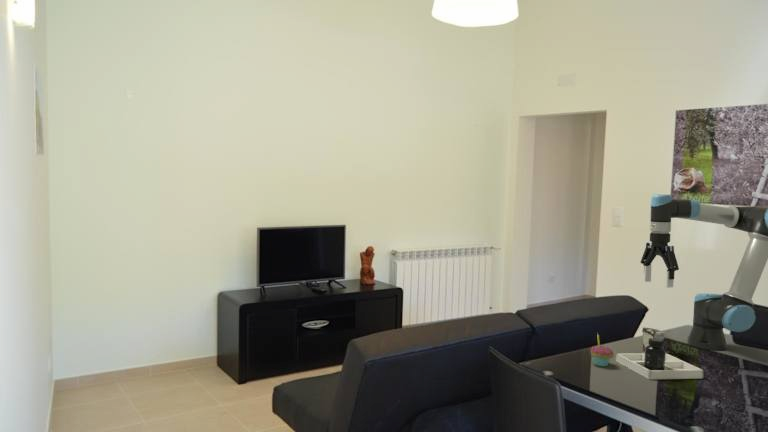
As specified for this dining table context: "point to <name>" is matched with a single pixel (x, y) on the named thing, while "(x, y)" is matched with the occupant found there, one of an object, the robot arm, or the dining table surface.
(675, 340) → the dining table surface
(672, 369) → the organiser
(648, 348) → the supplement bottle
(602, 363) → the cupcake
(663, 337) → the food container
